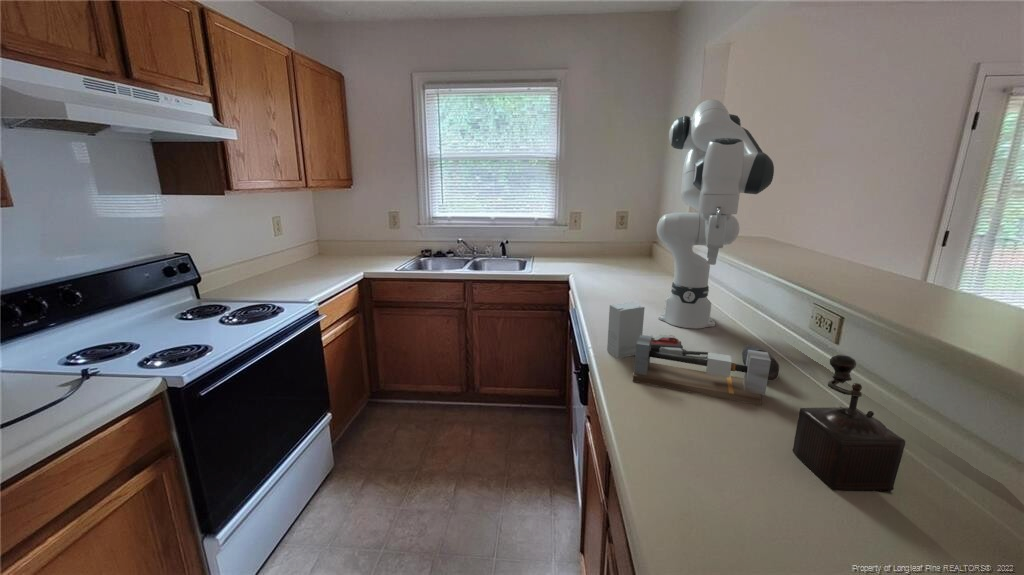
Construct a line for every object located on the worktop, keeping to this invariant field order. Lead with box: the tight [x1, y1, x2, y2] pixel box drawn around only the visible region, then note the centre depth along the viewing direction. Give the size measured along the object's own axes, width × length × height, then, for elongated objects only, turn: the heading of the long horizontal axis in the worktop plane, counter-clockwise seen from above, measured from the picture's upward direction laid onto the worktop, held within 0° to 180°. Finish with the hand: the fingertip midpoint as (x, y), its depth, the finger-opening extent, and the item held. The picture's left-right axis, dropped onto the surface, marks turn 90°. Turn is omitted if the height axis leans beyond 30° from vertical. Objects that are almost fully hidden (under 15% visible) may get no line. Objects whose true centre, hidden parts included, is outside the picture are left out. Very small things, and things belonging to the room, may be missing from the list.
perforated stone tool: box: [741, 344, 780, 382], centre depth 109 cm, size 15×5×7 cm, turn 170°
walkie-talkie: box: [650, 334, 709, 356], centre depth 123 cm, size 9×4×20 cm
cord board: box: [632, 334, 771, 406], centre depth 101 cm, size 10×29×10 cm, turn 66°
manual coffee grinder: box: [792, 354, 906, 492], centre depth 72 cm, size 16×11×18 cm
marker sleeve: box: [705, 351, 733, 378], centre depth 99 cm, size 4×5×4 cm
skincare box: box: [606, 301, 646, 359], centre depth 119 cm, size 8×6×15 cm
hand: (711, 261), depth 106 cm, fingers open, 8 cm apart
